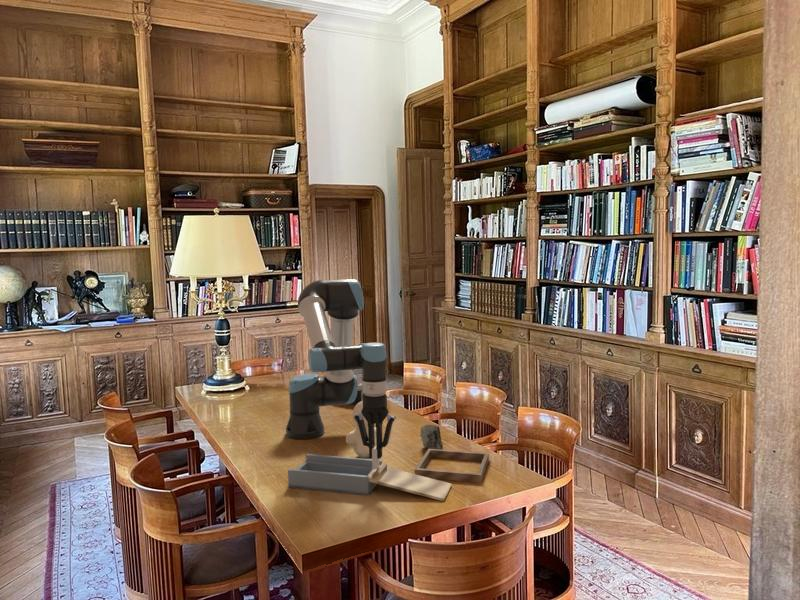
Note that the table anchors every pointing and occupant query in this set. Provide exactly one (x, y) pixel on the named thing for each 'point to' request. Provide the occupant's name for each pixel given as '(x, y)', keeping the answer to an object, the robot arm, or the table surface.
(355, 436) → the figurine
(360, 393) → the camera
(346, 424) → the table surface
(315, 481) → the pencil box
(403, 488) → the lid
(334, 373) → the robot arm
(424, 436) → the stone
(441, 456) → the brown wooden frame
